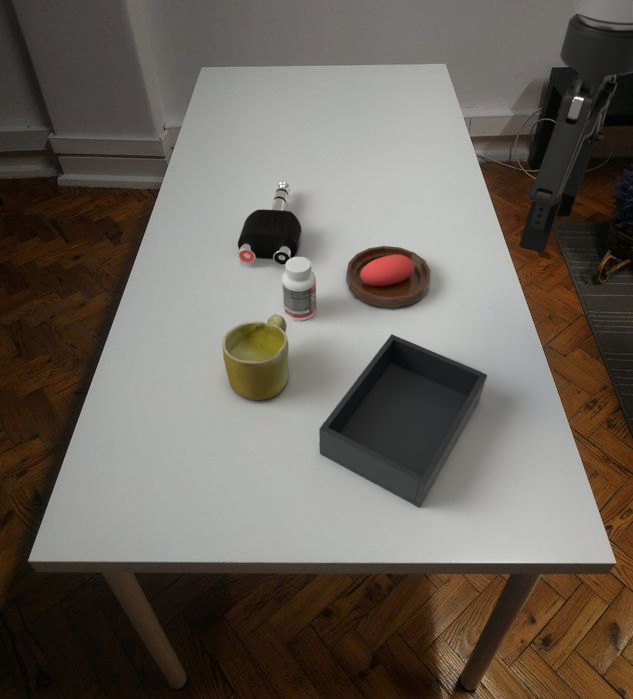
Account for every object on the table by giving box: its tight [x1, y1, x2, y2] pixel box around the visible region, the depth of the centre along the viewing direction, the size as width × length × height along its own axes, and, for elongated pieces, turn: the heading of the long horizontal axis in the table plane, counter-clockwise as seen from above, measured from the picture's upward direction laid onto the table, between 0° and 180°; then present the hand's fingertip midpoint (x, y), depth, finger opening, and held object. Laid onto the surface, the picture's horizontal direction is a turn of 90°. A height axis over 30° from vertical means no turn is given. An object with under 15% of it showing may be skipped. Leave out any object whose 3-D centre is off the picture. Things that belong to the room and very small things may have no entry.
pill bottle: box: [281, 256, 317, 322], centre depth 89 cm, size 5×5×10 cm
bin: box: [318, 333, 488, 509], centre depth 74 cm, size 15×20×6 cm
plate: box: [345, 245, 431, 309], centre depth 96 cm, size 14×14×2 cm
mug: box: [221, 313, 289, 401], centre depth 81 cm, size 12×10×10 cm
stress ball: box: [361, 255, 413, 286], centre depth 95 cm, size 5×9×6 cm, turn 97°
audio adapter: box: [237, 181, 303, 266], centre depth 107 cm, size 11×5×25 cm
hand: (549, 219), depth 66 cm, fingers open, 13 cm apart
